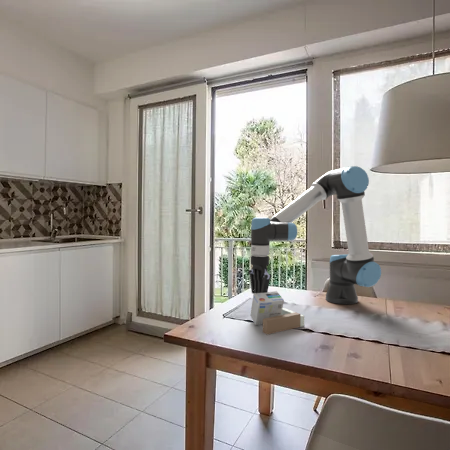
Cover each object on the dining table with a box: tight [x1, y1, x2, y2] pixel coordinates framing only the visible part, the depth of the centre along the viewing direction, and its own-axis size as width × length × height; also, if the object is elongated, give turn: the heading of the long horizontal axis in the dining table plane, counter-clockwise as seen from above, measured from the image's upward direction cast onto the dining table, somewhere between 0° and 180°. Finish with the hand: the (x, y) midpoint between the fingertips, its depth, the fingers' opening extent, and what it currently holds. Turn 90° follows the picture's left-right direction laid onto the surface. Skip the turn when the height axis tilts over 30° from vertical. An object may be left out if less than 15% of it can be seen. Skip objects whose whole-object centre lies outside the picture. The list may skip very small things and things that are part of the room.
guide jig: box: [262, 307, 305, 335], centre depth 133 cm, size 18×24×5 cm
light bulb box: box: [250, 290, 285, 326], centre depth 130 cm, size 11×7×11 cm, turn 108°
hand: (258, 312), depth 135 cm, fingers closed
